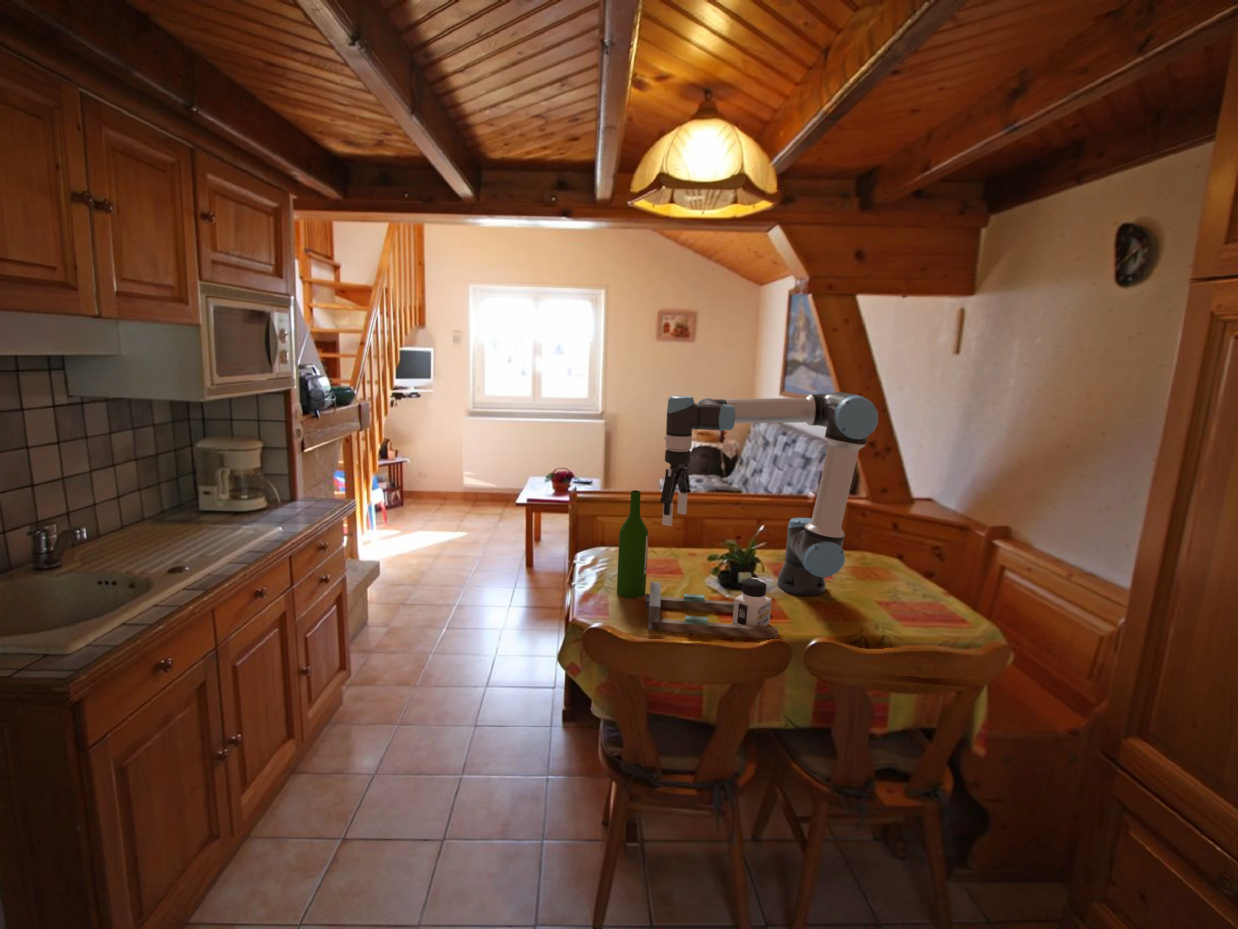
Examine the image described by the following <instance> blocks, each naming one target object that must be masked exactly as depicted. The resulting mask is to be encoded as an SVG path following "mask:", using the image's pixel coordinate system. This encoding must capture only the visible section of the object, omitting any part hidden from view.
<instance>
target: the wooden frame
mask: <svg viewBox="0 0 1238 929" xmlns="http://www.w3.org/2000/svg"><path fill="white" fill-rule="evenodd" d="M661 583H662V582H660V581H658V582H657V581H656V582H655V581H651V582H650V590H649V593H645V601H644V602H645V603H644V610H648V620H647V621H648V622H647V630H648V631H659V632H671V633H672V632H673V633H674V632H675V633H687V634H702V635H712V636H713V635H715V636H730V637H740V638H741V637H742V638H755V639H756V638H758V639H770V638H779V628H778V627H777V626H767V625H766V626H752V625H738V624H734V623H723V622H708V621H709V620H708V617H707V616H695V615H693V616H692V615H685V617H684V620H683V619H681V620H680V619H666V618H665V619H664V618H661V617H660V616H661V608H663V609H664V608H665V609H679V610H688V611H689V610H691V611H692V610H693V611H703V612H704V611H705V612H706V611H707V612H720V613H721V612H722V613H733V612H734V601H728V600H727V601H726V600H712V599H705V598H706V597H705V595H704V594H696V593H695V594H693V593H692V594H691V593H683V597H670V596H662V594H661V593H662V592H661V591H662V590H661V588H662V587H661V586H662V584H661ZM770 640H771V639H770Z"/></svg>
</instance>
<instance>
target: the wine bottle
mask: <svg viewBox="0 0 1238 929" xmlns="http://www.w3.org/2000/svg"><path fill="white" fill-rule="evenodd" d="M641 494H642V493H641V491H640V490H631V491H630V504H629V515H628V517H627V518H626V520H625V521H624V523H623V524H622V526H621V527H620V529H619V534H618V555H617V560H618V561H617V578H616V579H617V582H616V593H617V594H618V595H619V596H620V597H621V598H622V597H623V598H626V599H637V598H642V597H643V596H645V595H646V586H647V573H648V572H647V571H648V569H647V567H648V551H649V531H648V528H647V526H646V524H645V522H644V521H643V519H642V517H641Z"/></svg>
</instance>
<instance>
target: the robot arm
mask: <svg viewBox="0 0 1238 929" xmlns="http://www.w3.org/2000/svg"><path fill="white" fill-rule="evenodd" d="M777 423H779V424H781V423H783V424H784V423H787V424H788V423H806V424H807V425H808V426H811V427H812V426H817V427H819V426H820V427H825V428H826V429H825V433H824V439H825V440H826V442H827V445H828V446H827V450H826V454H825V459H824V463H823V467H822V472H821V475H820V481H819V486H818V490H817V495H816V500H815V504H814V508H813V512H812V517H811V518H810V517H794V518H790V520H789V521H788V527H787V537H786V548H785V556H784V563H783V565H782V567H781V569H780V571H779V574H778V576H777V581H776V584H777V586H778V588H780V589H781V590H783V591H785V592H787V593H790V594H792V595H793V594H794V595H797V596H803V597H804V596H805V597H808V596H809V597H812V596H813V597H815V596H819V595H822V594H824V593H825V592H826V584H827V583H826V580H825V578H828V577H829V578H830V577H832V576H834V575H835V574H837V573H839V572H840V571H841V569H843V567H844V565H845V562H846V554H845V551H844V548H843V545H844V540H845V535H846V534H845V532H844V530H843V529H842V523H843V520H844V515H845V511H846V507H847V504H848V499H849V494H850V491H851V485H852V481H853V477H854V473H855V469H856V464H857V460H858V456H859V451H860V450H861V449H862V448H865V446H866V445H867V442H868V439H869V436H870V435H872V434H873V433H874V432H875V431H876V429H877V426H878V423H879V413H878V410H877V408H876V406H875V404H874V403H873V401H870V400H869V399H868V398H866V397H864V396H862V395H858V394H852V393H849V392H845V391H838V392H837V391H836V392H826V393H817V394H815V393H813V394H811V393H810V394H808V395H807V396H806V397H779V398H778V397H777V398H726V399H722V398H721V399H714V398H710V397H709V398H708V397H707V398H702V399H701V400H699V401H698V402H695V399H694V397H693V396H689V395H671V396H669V398H668V399H667V408H666V424H665V425H666V426H665V427H666V429H665V436H664V440H665V448H666V449H665V450H664V461H665V463H667V464H670V465H669V466H670V467H669V468H666V469H665V473H664V474H665V477H664V482H663V487H662V492H661V496H660V501H659V503H660V504H663V505H662V521H661V522H662V524H661V525H663V526H667V527H673V510H674V503H673V501H674V496H675V493H676V490H677V489H676V488H677V486H678V491H679V492H678V493H677V507H676V508H677V512H676V514H680V515H686V514H687V508H688V494H690V493H691V492H692V491H691V484H690V475H689V474H690V473H689V464H690V463H691V459H692V451H691V449H692V446H693V445H692V444H693V442H692V440H693V430H696V431H697V430H698V431H699V430H703V431H704V430H705V431H720V432H723V431H732V430H733V429H734V427H735V425H736V424H777Z"/></svg>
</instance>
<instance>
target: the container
mask: <svg viewBox="0 0 1238 929" xmlns="http://www.w3.org/2000/svg"><path fill="white" fill-rule="evenodd" d="M741 587H742V588H741V594H740V595H738V596H736V597H735V598H734V600H733V602H734V612H733V614H732V624H738V625H752V626H766V627H767V626H768V625H770V623H771V614H772V613H771V610H772V598H770V597H768V596H767V583H766V581H765V580H762V579H761V578H756V577H747V578H744V579H743V581H742V586H741Z"/></svg>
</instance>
